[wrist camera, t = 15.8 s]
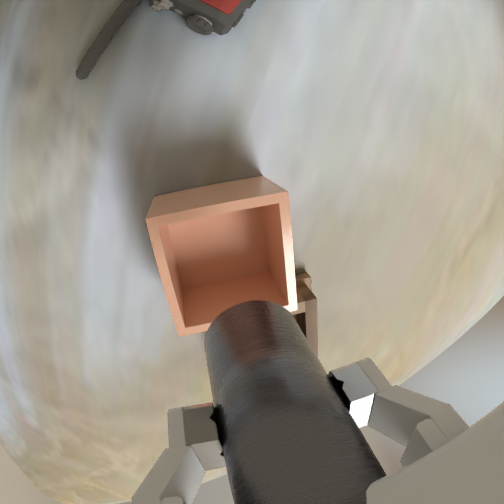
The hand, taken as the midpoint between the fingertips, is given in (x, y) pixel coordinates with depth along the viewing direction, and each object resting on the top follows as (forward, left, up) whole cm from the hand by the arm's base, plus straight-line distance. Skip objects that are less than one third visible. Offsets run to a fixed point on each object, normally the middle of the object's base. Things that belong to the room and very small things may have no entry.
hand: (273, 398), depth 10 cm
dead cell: (0, 0, -3) cm, 3 cm away
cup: (0, 0, -16) cm, 16 cm away
